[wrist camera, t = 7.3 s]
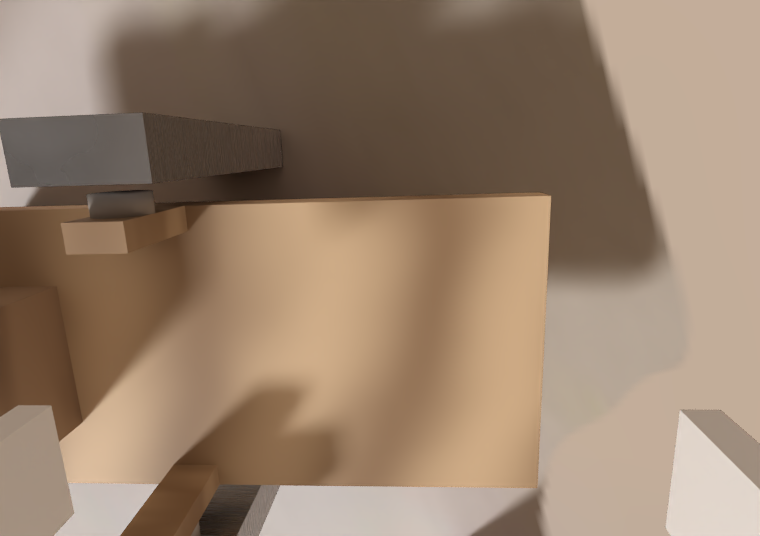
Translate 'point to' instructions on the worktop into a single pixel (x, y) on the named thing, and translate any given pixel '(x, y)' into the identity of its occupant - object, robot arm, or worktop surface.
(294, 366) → the tan piece
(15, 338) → the block
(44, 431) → the robot arm
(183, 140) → the fulcrum
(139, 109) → the worktop surface
